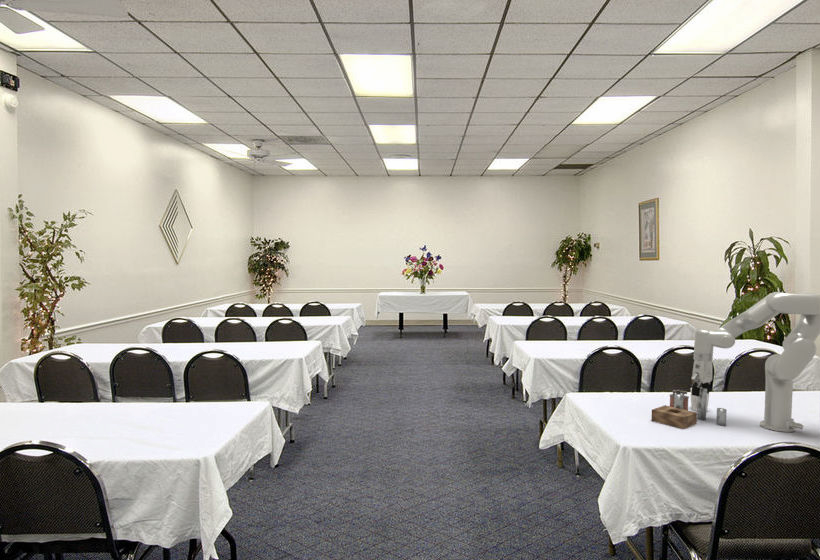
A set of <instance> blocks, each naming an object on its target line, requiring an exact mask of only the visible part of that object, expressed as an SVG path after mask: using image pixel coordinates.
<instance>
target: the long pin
mask: <svg viewBox="0 0 820 560" xmlns="http://www.w3.org/2000/svg"><path fill="white" fill-rule="evenodd" d="M699 387H700V386H699ZM706 407H707V388H703V387H702V386H701V387H700V396H698V402H697V411H696V413H697V420H699V421H700V420H701V421H706V420H707V412H706Z"/></svg>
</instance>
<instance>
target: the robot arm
mask: <svg viewBox="0 0 820 560" xmlns="http://www.w3.org/2000/svg"><path fill="white" fill-rule="evenodd" d="M779 314H790V315H800V317H799V320H798V321H797V323H796V324H795V326H794V327H793V329H791V331H790V333H789V334H788V335H786V337H785V338H784V340H783V341H782V349H783V351H782V353H775V354H771V355H770V356H769V357H767V359H766V360H765V364H764V373H765V388H764V389H765V390H764V391H765V392H764V394H765V395H764V413H763V414H764V417H763V420H761V421H759V426H761V427H762V428H765V429H768V430H770V431H777V432H783V433H792V432H795V431H796V429H799V430H803V429H804V424H802V423H800V422H795V419H794V418H792V416H793V415H792V414H793V413H792V411H793V410H792V409H793V392H794V387H793V386H794V384H793V380H796V378H798V377H799V376H800V375H801V373H802V372H803V371H804V370H805V368H806V367H808V365H809V363H810V362H811V361H812V360H813V359H814V357H815V355H816V354H817V353H816V352H817V345H816V343H815V341H816V340H817V339H818V337H819V335H820V294H819V293H818V294H817V293H814V292H813V293H812V292H804V293H788V292H781V291H774V292H771V293H769V294H767V295H766V296H765V297H763V298H762V299H759V301H758V302H756V303H755V304H753V305H752V306H751V307H749V308H748V309H747V310H745V311H743V312H742V313H740V314H738V315H737V316H734V318H731V319H730V320H729V321H727V322H726V323H724V324H722V325H721V326H720V327H718V328H717V329H716V330H715V331H713V330H711V329H705V328H698V329H696V330H695V332H694V343H693V344H694V345H693V348H694V349H693V360H694V361H693V366H692V367H693V368H692V375H691V388H692V395H694V396H700V386H701V387H703V388H707V393H709V394H710V388H711V387H710V386H711V382H712V381H713V360H714V358H713V356H714V347H715V348H719V349H726V350H727V349H730V348H732V347H734V345H735V344H736V338H738V337H739V336H741V335H742V334H744V333H746V332H749V331H750V330H755V329H757V328H761V327H763V326H764V325H765V324H766V323H768V322H769V321H770V320H772V319H773V318H775V317H776V316H778V315H779Z"/></svg>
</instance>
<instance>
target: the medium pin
mask: <svg viewBox="0 0 820 560" xmlns="http://www.w3.org/2000/svg"><path fill="white" fill-rule="evenodd" d="M674 407H675V408H679V409H683V395H682V394H676V393H675V395H674Z"/></svg>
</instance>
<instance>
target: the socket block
mask: <svg viewBox="0 0 820 560" xmlns="http://www.w3.org/2000/svg"><path fill="white" fill-rule="evenodd" d="M650 419H651V421H652V422H654V421H655V423H658V422H659V424H662V425H666V426H670V427H675V428H678V429H682V430H685V429H688V428H690V427H692V426H696V425H697V424H698V421H697V420H698V419H697V411H693V410H689V409H688V410H683V409H679V408H675V407H670V405H666V404H665V405H662V406H658V407H656V408H653V409H651V418H650Z"/></svg>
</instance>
